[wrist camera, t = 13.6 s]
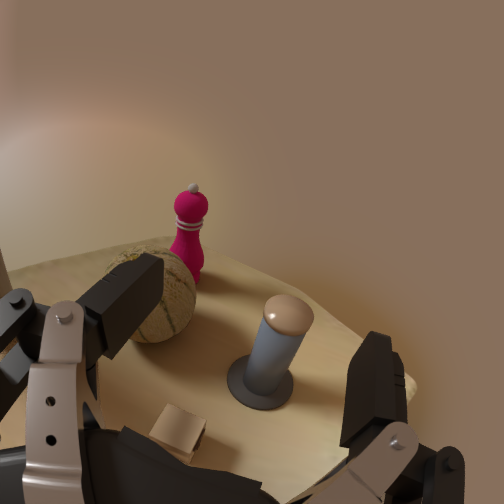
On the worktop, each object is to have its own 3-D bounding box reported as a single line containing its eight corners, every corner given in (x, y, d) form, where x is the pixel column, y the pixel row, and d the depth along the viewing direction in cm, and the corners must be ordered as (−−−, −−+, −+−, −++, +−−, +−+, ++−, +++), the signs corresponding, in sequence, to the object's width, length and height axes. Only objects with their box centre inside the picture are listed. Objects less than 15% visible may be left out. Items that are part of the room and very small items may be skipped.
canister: (236, 388, 38) (259, 319, 31) (248, 360, 43) (271, 288, 36) (274, 401, 38) (310, 336, 30) (283, 372, 42) (316, 303, 35)
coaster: (217, 395, 37) (217, 393, 37) (239, 348, 46) (239, 346, 45) (284, 418, 36) (285, 416, 36) (297, 367, 44) (298, 365, 44)
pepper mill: (180, 262, 62) (189, 174, 52) (208, 276, 60) (222, 184, 50) (159, 278, 56) (164, 183, 46) (188, 294, 54) (199, 195, 44)
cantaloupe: (206, 315, 51) (217, 243, 43) (168, 377, 38) (167, 303, 30) (137, 287, 53) (135, 216, 45) (90, 335, 40) (73, 259, 32)
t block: (152, 447, 28) (148, 434, 26) (168, 418, 33) (167, 402, 30) (190, 465, 28) (191, 454, 25) (205, 434, 32) (208, 420, 29)
